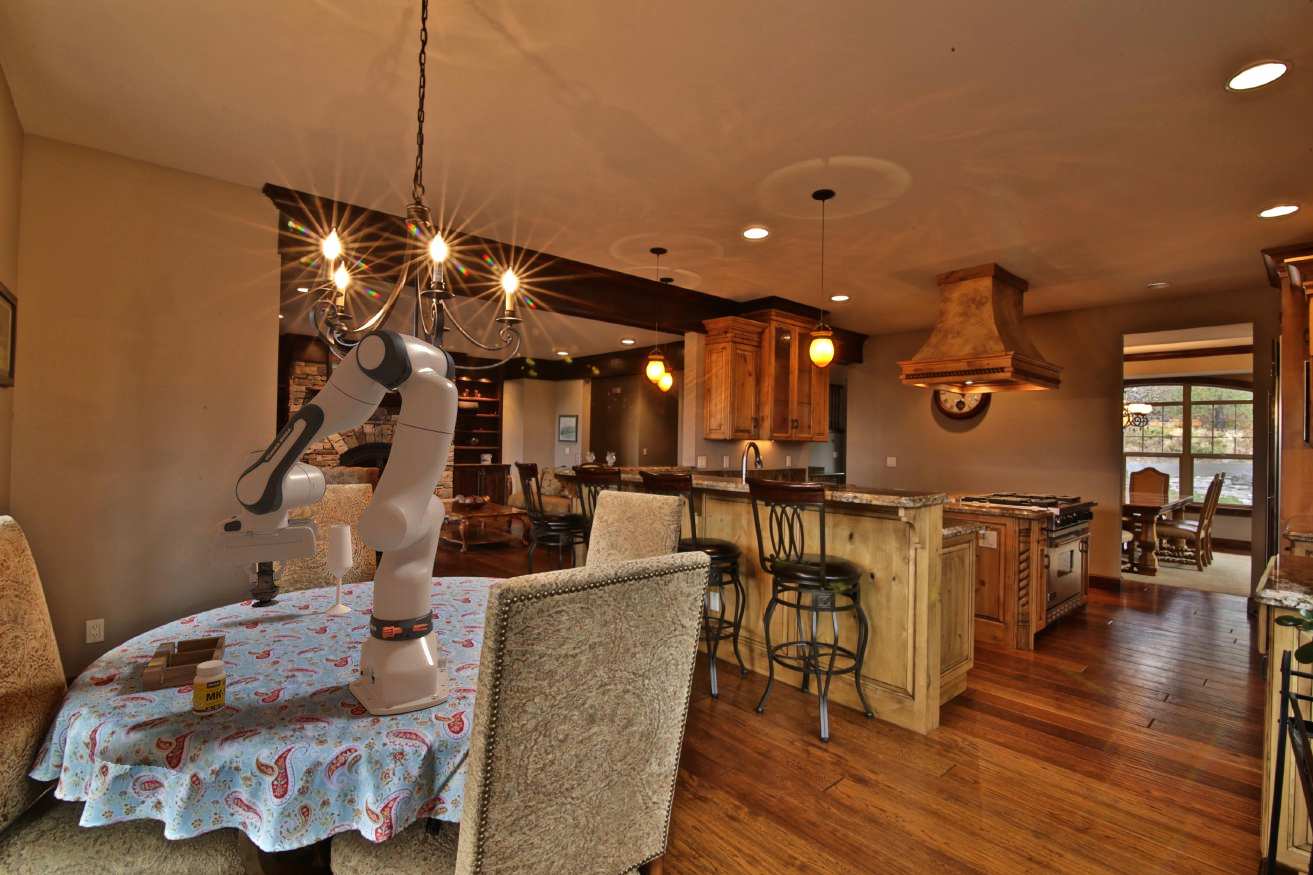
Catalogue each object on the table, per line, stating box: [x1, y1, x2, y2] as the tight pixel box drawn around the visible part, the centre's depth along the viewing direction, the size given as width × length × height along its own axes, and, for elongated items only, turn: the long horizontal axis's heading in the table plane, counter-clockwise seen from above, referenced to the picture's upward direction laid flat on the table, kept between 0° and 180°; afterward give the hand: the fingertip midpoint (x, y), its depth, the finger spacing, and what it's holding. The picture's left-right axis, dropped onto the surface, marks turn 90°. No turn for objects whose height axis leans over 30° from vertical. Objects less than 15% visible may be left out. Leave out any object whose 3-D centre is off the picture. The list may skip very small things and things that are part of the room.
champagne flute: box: [324, 524, 354, 615], centre depth 169 cm, size 7×7×24 cm
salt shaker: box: [249, 561, 282, 609], centre depth 136 cm, size 6×6×12 cm
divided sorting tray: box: [142, 635, 226, 692], centre depth 126 cm, size 18×12×4 cm, turn 31°
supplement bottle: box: [192, 660, 227, 716], centre depth 109 cm, size 5×5×8 cm
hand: (265, 581), depth 136 cm, fingers closed on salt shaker, 3 cm apart
